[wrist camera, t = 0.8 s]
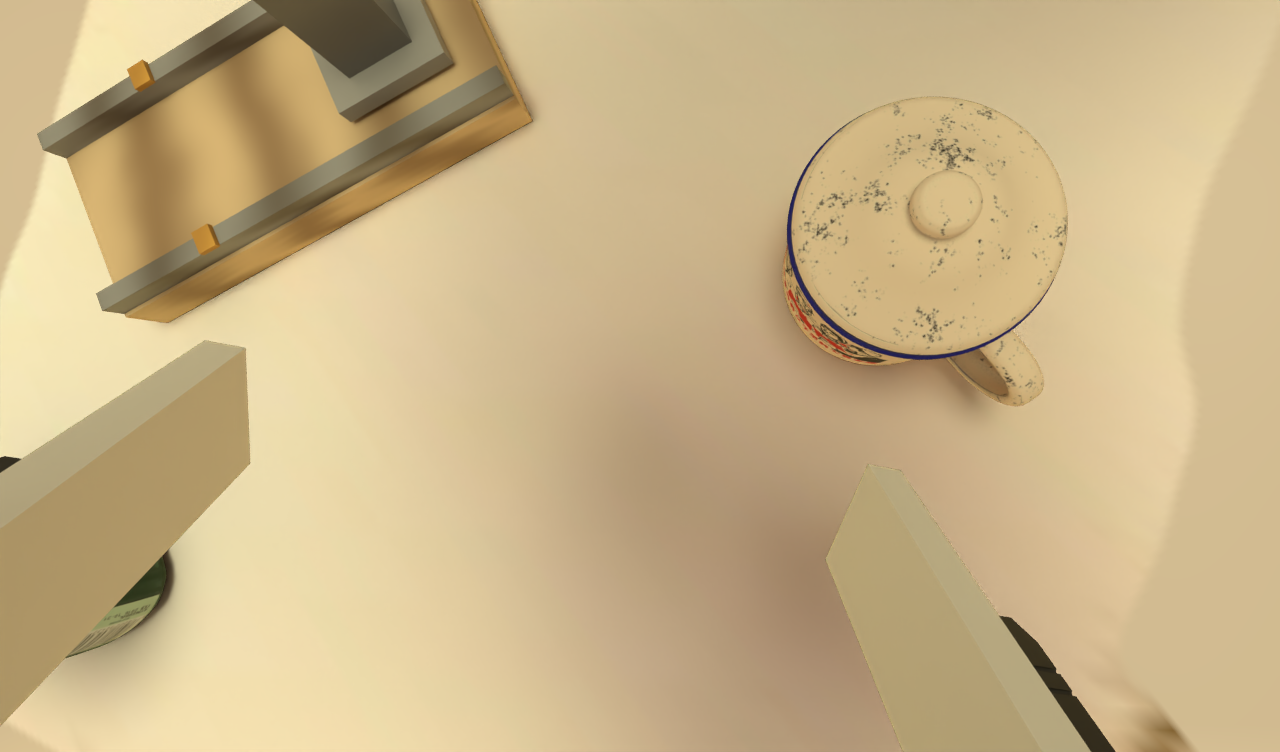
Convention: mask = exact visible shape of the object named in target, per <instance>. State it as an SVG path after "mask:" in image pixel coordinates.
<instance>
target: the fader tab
mask: <svg viewBox="0 0 1280 752" xmlns="http://www.w3.org/2000/svg"><path fill="white" fill-rule="evenodd" d="M253 1H254V2H256V3H257V4H258V5H259V6H260V7H262V8H263V9H264V10H265V11H267V12H268V13H269V14H270V15H272V16H273V17H274V18H275V19H277V20H278V21H279V22H280V23H281V24H283V25H284V26H285V27H286V28H288V29H289V30H290V31H291V32H293V33H294V34H295V35H296V36H297V37H299V38H300V39H301V40H302V41H304V42H305V43H306V44H307V45H309V46H310V48H311V50H312V52H313V55H314V57H315V59H316V62H317V64H318V66H319V69H320V71H321V73H322V76H323V78H324V80H325V82H326V85H327V87H328V89H329V92H330V94H331V96H332V99H333V101H334V103H335V106H336V108H337V110H338V113H339V114H340V115H342V116H343V117H344V118H346V119H347V120H349V121H350V122H353V121H355V120H356V119H358V118H360V117H361V116H363V115H365V114H367V113H368V112H370V111H372V110H374V109H375V108H377V107H379V106H380V105H382V104H384V103H386V102H387V101H389V100H391V99H393V98H394V97H396V96H398V95H399V94H401V93H403V92H405V91H406V90H408V89H410V88H412V87H413V86H415V85H417V84H419V83H420V82H422V81H424V80H425V79H427V78H429V77H431V76H432V75H434V74H436V73H438V72H439V71H441V70H443V69H444V68H446V67H448V66H450V65H451V64H453V61H452V59H451V57H450V55H449V52H448V50H447V48H446V46H445V44H444V41H443V39H442V37H441V35H440V33H439V30H438V28H437V26H436V24H435V22H434V19H433V17H432V15H431V13H430V11H429V8H428V6H427V4H426V2H425V0H253Z"/></svg>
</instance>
